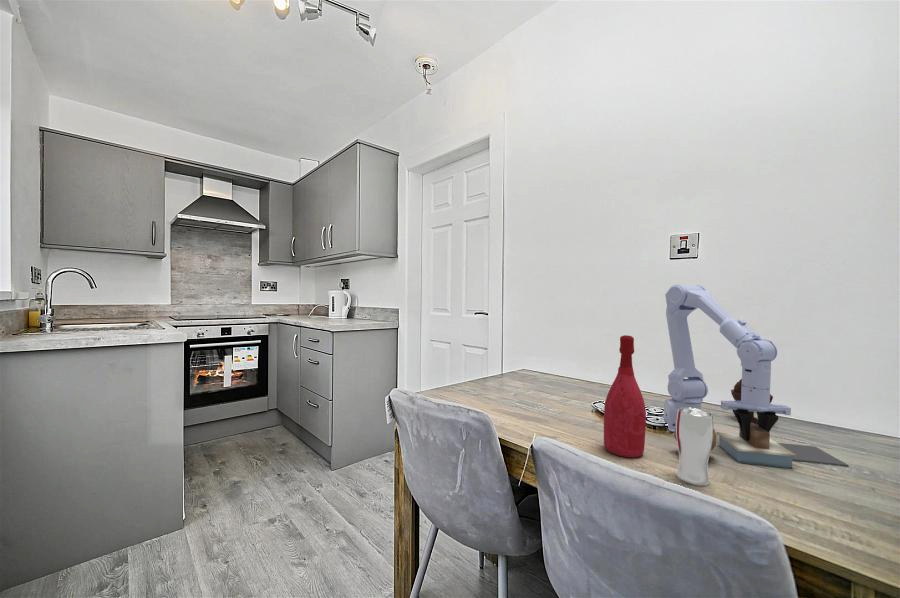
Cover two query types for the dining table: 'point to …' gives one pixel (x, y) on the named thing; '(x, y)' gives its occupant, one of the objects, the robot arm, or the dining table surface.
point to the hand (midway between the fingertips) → (753, 439)
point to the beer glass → (694, 444)
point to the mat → (812, 455)
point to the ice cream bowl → (737, 397)
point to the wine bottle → (625, 408)
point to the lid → (756, 442)
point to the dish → (756, 457)
